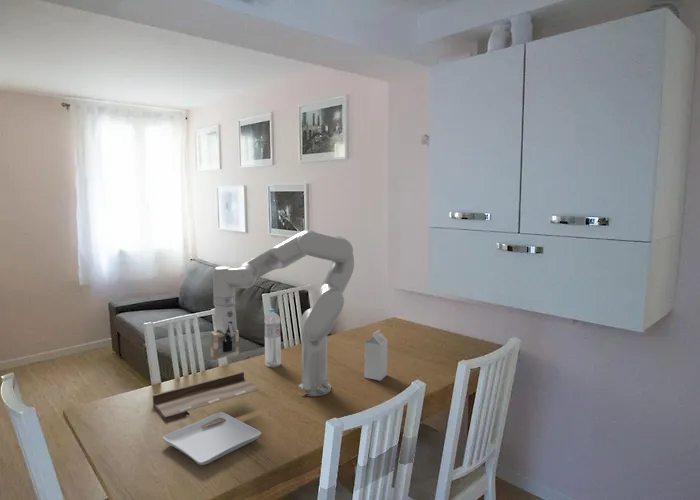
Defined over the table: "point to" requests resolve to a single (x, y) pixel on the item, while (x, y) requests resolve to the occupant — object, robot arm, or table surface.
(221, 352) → the picture frame
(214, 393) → the picture ledge
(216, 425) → the salad plate
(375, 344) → the milk carton
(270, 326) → the water bottle
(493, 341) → the table surface
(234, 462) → the table surface
